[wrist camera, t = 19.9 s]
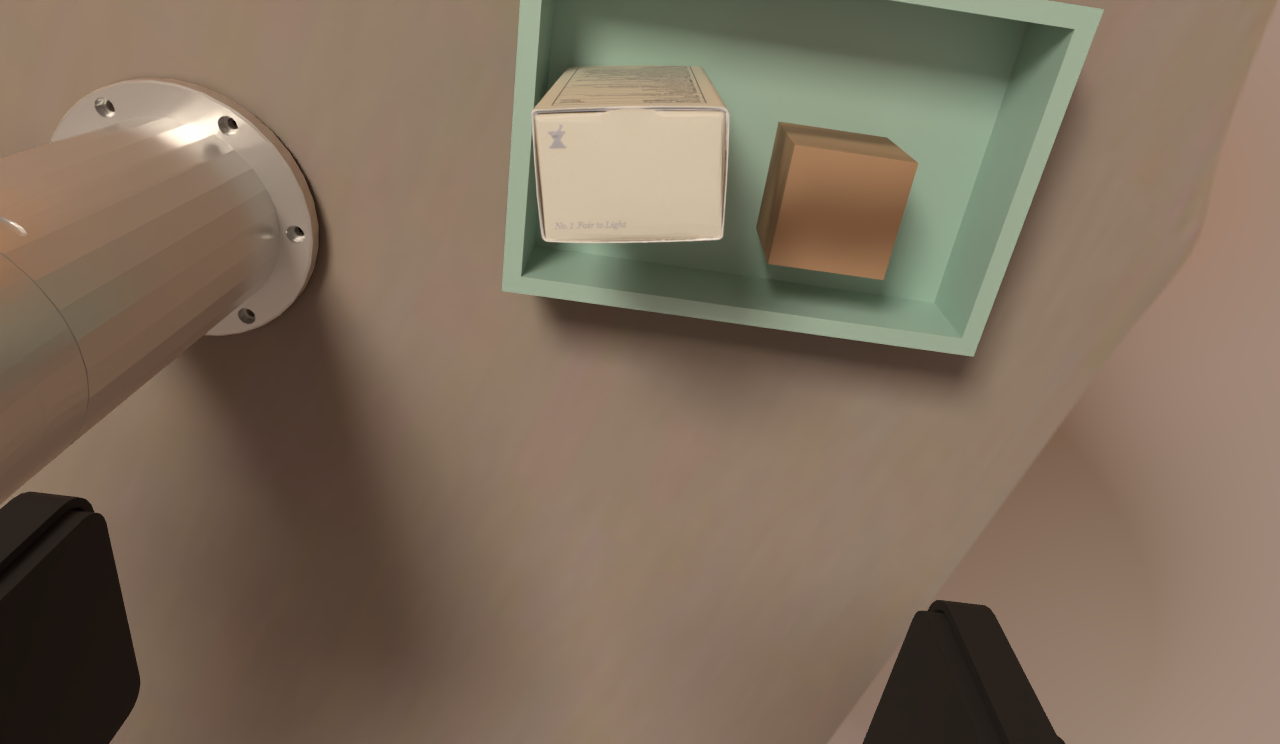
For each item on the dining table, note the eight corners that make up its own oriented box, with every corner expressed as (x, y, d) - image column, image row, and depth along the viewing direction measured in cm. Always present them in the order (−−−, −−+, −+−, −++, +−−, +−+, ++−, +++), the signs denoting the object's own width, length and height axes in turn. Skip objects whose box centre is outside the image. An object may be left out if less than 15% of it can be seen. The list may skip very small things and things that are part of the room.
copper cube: (778, 121, 36) (794, 144, 31) (887, 137, 36) (918, 162, 32) (756, 228, 38) (768, 263, 34) (858, 242, 38) (883, 280, 34)
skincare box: (571, 162, 37) (533, 248, 26) (566, 60, 35) (522, 107, 24) (707, 162, 37) (725, 247, 26) (710, 59, 35) (731, 106, 24)
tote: (519, 253, 40) (502, 290, 35) (543, -78, 33) (525, -83, 29) (939, 313, 41) (973, 356, 36) (1046, 2, 34) (1103, 9, 30)
